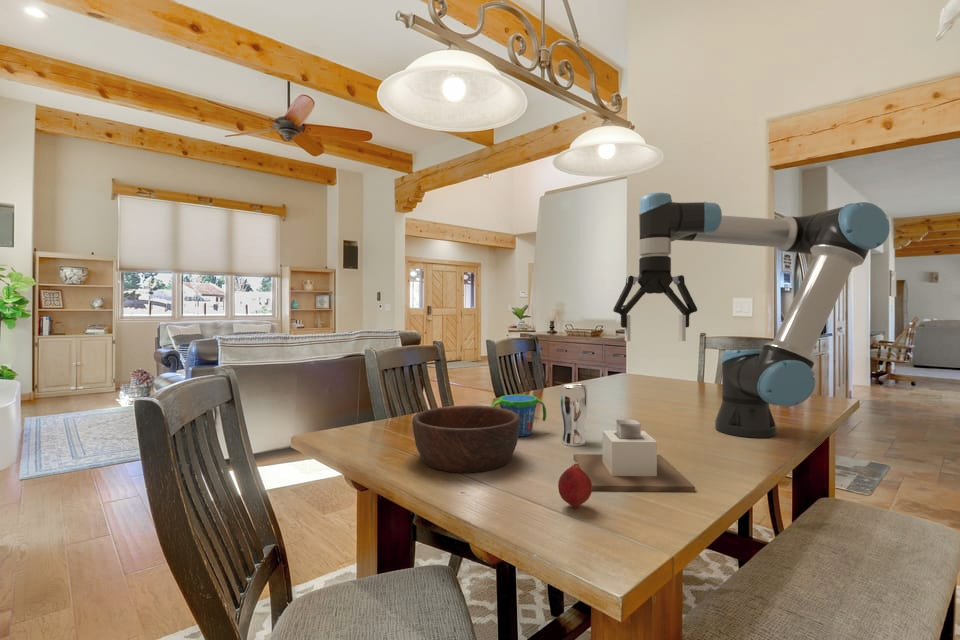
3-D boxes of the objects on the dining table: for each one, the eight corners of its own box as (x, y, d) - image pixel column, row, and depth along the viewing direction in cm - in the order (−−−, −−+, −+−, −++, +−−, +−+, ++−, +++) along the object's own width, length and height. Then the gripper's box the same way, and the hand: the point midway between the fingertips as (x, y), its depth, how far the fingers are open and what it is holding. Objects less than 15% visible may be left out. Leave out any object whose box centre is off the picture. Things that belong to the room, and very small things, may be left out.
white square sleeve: (643, 462, 108) (643, 430, 108) (656, 476, 99) (656, 441, 99) (602, 461, 108) (602, 430, 108) (611, 475, 99) (611, 441, 99)
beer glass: (585, 439, 130) (585, 383, 130) (589, 447, 123) (589, 387, 123) (559, 439, 131) (559, 383, 130) (561, 446, 124) (561, 387, 123)
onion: (570, 516, 82) (570, 469, 82) (552, 504, 88) (551, 460, 88) (598, 510, 85) (598, 465, 85) (579, 499, 90) (579, 456, 90)
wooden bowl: (468, 487, 96) (467, 435, 96) (390, 460, 113) (390, 416, 113) (541, 458, 115) (541, 414, 115) (465, 439, 132) (465, 401, 131)
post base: (660, 459, 113) (660, 411, 113) (694, 491, 93) (695, 434, 93) (573, 458, 114) (573, 411, 114) (589, 490, 94) (589, 433, 94)
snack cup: (490, 439, 131) (490, 401, 131) (490, 429, 142) (490, 394, 142) (548, 438, 131) (548, 401, 131) (544, 429, 142) (544, 394, 141)
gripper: (699, 257, 126) (698, 339, 127) (601, 258, 127) (601, 339, 128) (711, 254, 119) (711, 341, 119) (608, 255, 120) (608, 342, 120)
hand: (654, 340), depth 123 cm, fingers open, 13 cm apart
